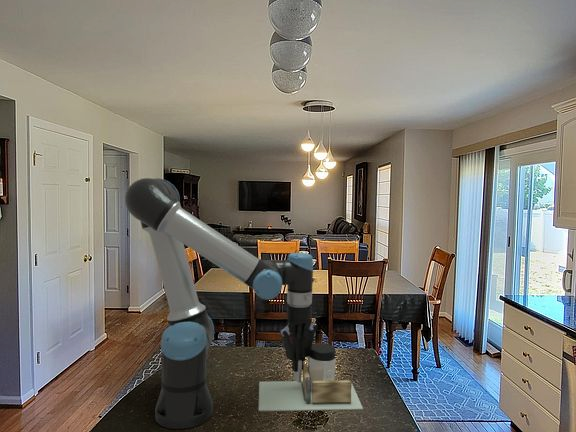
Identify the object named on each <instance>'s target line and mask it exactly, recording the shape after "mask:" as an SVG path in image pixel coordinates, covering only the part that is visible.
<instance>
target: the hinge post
mask: <svg viewBox="0 0 576 432" xmlns="http://www.w3.org/2000/svg"><path fill="white" fill-rule="evenodd" d="M310 403H311V378H310V377H307V378H306V404H310Z"/></svg>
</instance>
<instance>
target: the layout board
mask: <svg viewBox="0 0 576 432" xmlns="http://www.w3.org/2000/svg"><path fill="white" fill-rule="evenodd" d="M258 383H259V385H258V387H259V389H258V391H259V392H258V412H298V411H301V412H304V411H306V412H307V411H360V410H361V411H362V410H364V407H363V405H362V403H361V401H360V399H359V396H358V394H357V391H356V389H355V387H354V385H353V382H352V381H351V384H352V387H351V402H324V403H313V402H312V390H311V403H310V404H306V399H305V393H304V388H303V382H302V380H301V382H300V383H298V382H297V381H295V380H292V381H291V380H287V381H286V380H285V381H282V380H281V381H277V380H275V381H259V382H258Z"/></svg>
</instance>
